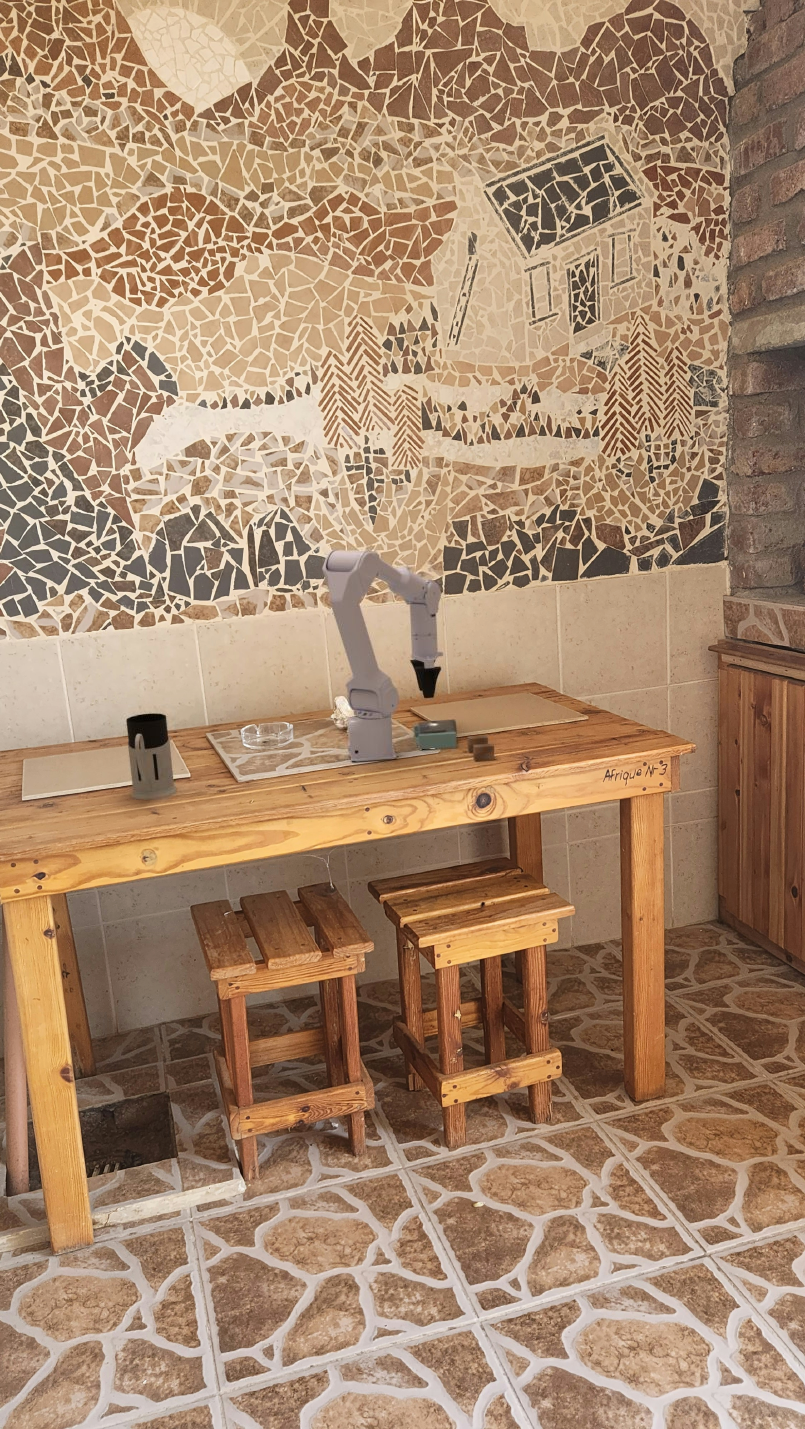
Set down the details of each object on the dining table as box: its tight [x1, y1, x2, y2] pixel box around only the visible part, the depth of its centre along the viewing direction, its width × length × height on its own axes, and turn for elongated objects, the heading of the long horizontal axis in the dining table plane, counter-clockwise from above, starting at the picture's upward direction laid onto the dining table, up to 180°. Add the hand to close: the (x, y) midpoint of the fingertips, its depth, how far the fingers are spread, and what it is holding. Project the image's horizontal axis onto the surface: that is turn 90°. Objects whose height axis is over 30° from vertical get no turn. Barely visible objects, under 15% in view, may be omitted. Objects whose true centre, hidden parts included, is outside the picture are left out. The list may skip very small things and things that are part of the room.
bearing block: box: [467, 734, 495, 762], centre depth 226 cm, size 4×9×3 cm, turn 6°
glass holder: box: [125, 712, 178, 801], centre depth 207 cm, size 9×14×15 cm, turn 1°
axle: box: [417, 718, 458, 737], centre depth 236 cm, size 8×4×4 cm, turn 96°
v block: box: [413, 724, 458, 750], centre depth 236 cm, size 8×10×3 cm
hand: (426, 694), depth 242 cm, fingers open, 7 cm apart
